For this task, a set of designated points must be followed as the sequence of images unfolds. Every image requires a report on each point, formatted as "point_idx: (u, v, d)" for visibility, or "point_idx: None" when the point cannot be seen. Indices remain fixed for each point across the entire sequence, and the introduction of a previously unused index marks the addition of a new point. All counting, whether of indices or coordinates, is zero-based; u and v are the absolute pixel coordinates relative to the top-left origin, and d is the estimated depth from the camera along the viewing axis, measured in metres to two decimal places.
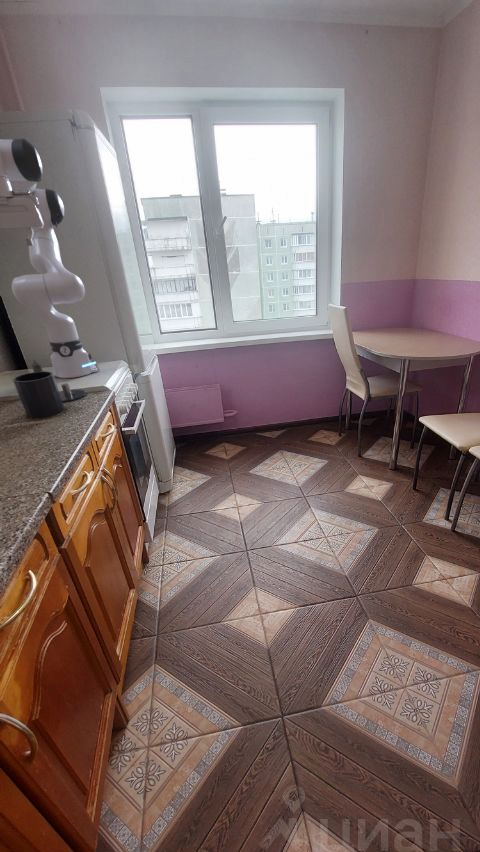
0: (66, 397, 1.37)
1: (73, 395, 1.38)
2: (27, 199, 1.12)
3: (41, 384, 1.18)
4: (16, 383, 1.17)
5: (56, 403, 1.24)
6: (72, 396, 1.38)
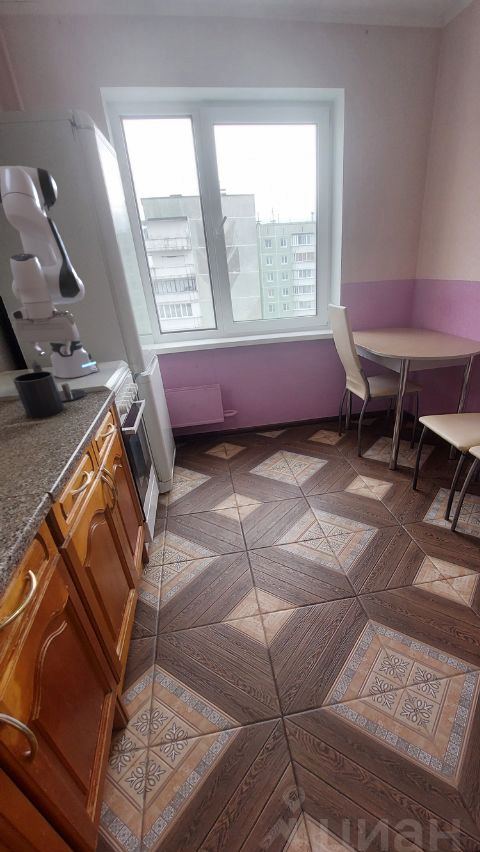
0: (66, 397, 1.37)
1: (73, 395, 1.38)
2: (63, 319, 1.23)
3: (41, 384, 1.18)
4: (16, 383, 1.17)
5: (56, 403, 1.24)
6: (72, 396, 1.38)
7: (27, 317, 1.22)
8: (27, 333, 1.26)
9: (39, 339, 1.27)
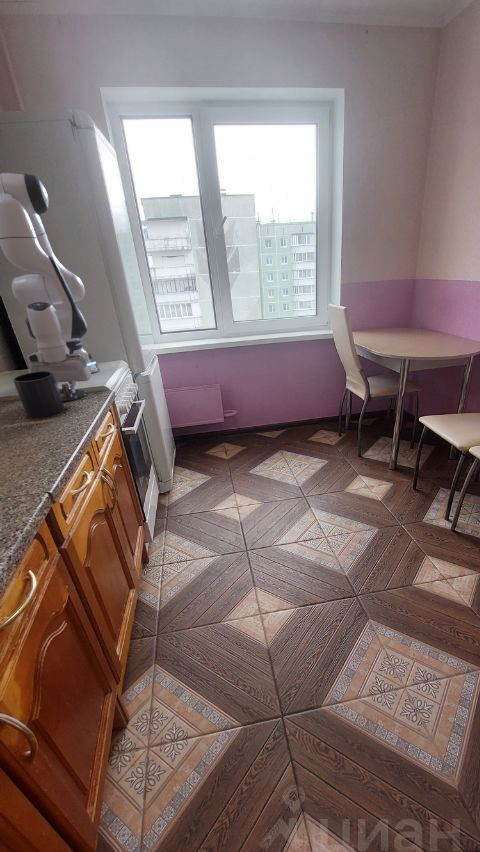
0: (66, 397, 1.37)
1: (73, 395, 1.38)
2: (76, 361, 1.31)
3: (41, 384, 1.18)
4: (16, 383, 1.17)
5: (56, 403, 1.24)
6: (72, 396, 1.38)
7: (42, 360, 1.29)
8: None
9: None
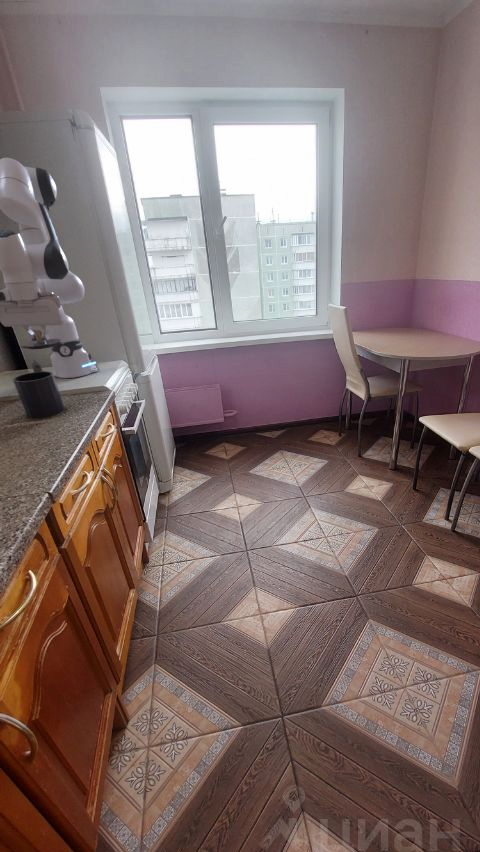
0: (39, 344, 1.22)
1: (47, 342, 1.24)
2: (49, 301, 1.16)
3: (41, 384, 1.18)
4: (16, 383, 1.17)
5: (56, 403, 1.24)
6: (45, 343, 1.23)
7: (10, 299, 1.14)
8: (11, 316, 1.19)
9: (24, 323, 1.20)
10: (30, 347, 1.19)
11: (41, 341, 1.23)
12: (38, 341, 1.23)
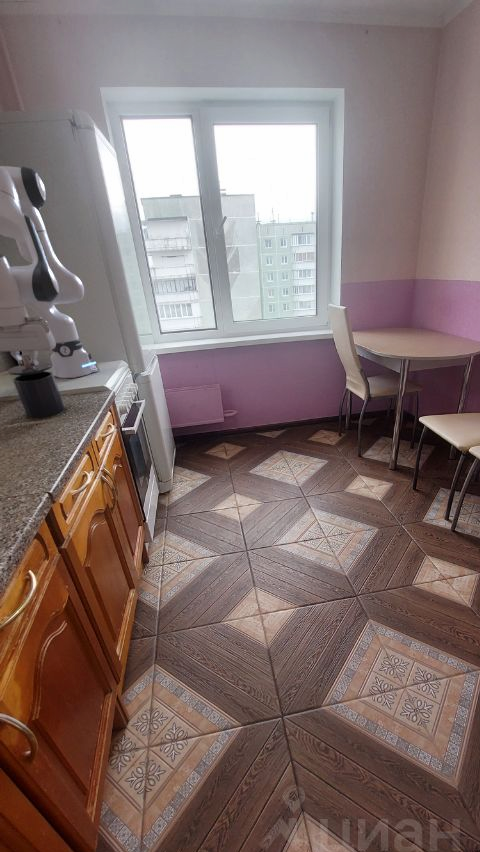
0: (27, 369, 1.17)
1: (35, 367, 1.18)
2: (37, 326, 1.11)
3: (41, 384, 1.18)
4: (16, 383, 1.17)
5: (56, 403, 1.24)
6: (34, 368, 1.17)
7: None
8: None
9: (11, 348, 1.14)
10: (17, 374, 1.14)
11: (29, 366, 1.18)
12: (26, 366, 1.18)
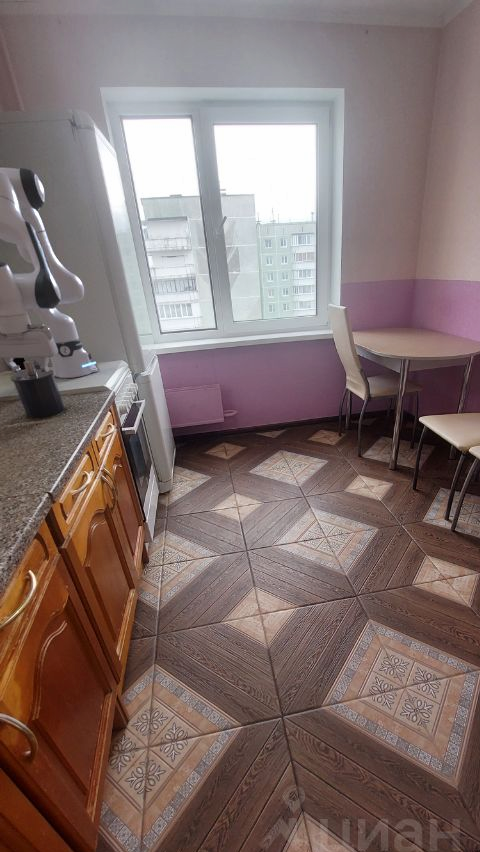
0: (29, 376, 1.18)
1: (38, 374, 1.20)
2: (39, 333, 1.12)
3: (41, 384, 1.18)
4: (16, 383, 1.17)
5: (56, 403, 1.24)
6: (36, 375, 1.19)
7: None
8: (0, 348, 1.15)
9: (13, 355, 1.16)
10: (20, 381, 1.15)
11: (32, 373, 1.19)
12: (29, 373, 1.19)
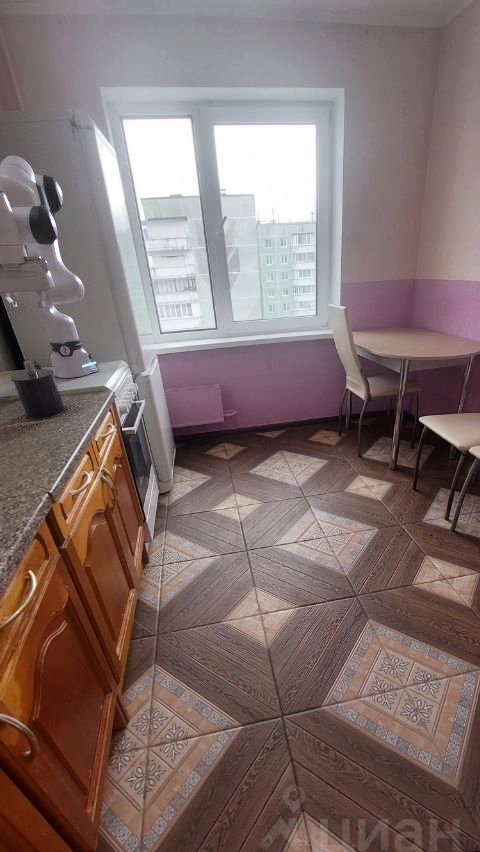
0: (29, 376, 1.18)
1: (38, 374, 1.20)
2: (36, 265, 1.12)
3: (41, 384, 1.18)
4: (16, 383, 1.17)
5: (56, 403, 1.24)
6: (36, 375, 1.19)
7: None
8: None
9: (10, 289, 1.16)
10: (20, 381, 1.15)
11: (32, 373, 1.19)
12: (29, 373, 1.19)
